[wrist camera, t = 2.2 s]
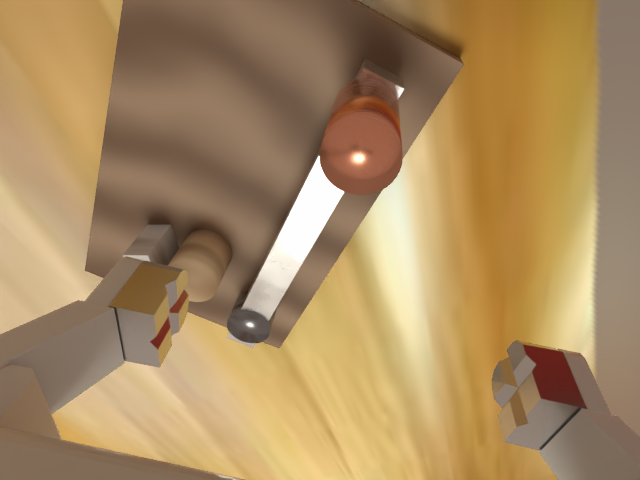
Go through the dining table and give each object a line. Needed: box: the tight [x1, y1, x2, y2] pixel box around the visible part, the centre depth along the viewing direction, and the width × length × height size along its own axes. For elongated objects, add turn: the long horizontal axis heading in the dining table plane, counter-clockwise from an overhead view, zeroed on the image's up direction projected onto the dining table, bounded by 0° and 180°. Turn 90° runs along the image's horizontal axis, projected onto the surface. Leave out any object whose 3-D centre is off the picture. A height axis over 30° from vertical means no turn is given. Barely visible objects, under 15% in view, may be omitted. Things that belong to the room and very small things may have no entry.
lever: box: [227, 59, 404, 348], centre depth 27 cm, size 24×4×8 cm, turn 155°
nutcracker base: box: [85, 0, 464, 348], centre depth 30 cm, size 29×19×6 cm, turn 155°
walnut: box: [168, 230, 232, 302], centre depth 33 cm, size 4×4×4 cm
